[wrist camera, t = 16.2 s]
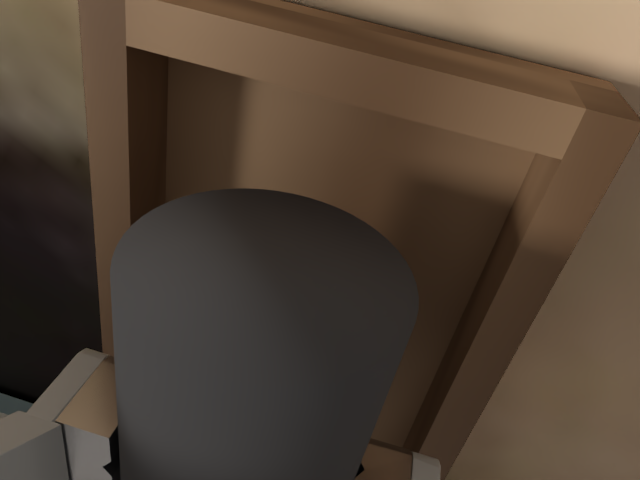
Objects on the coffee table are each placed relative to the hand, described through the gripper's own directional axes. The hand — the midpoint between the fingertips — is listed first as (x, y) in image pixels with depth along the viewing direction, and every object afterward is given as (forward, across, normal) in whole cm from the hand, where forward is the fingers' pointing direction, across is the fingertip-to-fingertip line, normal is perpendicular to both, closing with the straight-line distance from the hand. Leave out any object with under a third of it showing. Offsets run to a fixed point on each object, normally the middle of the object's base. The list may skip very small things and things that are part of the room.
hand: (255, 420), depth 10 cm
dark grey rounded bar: (+1, 0, 0) cm, 1 cm away
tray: (+4, 0, 0) cm, 4 cm away
